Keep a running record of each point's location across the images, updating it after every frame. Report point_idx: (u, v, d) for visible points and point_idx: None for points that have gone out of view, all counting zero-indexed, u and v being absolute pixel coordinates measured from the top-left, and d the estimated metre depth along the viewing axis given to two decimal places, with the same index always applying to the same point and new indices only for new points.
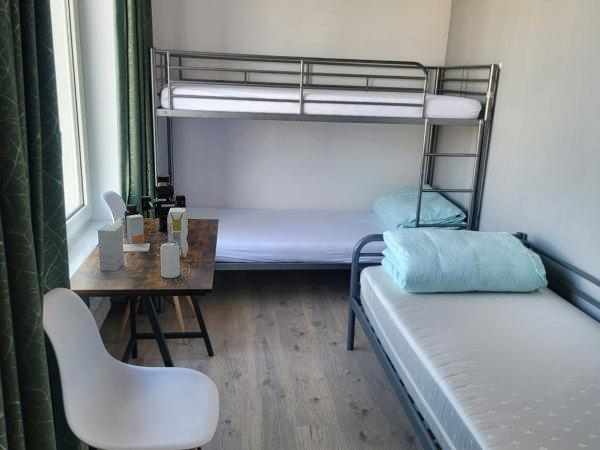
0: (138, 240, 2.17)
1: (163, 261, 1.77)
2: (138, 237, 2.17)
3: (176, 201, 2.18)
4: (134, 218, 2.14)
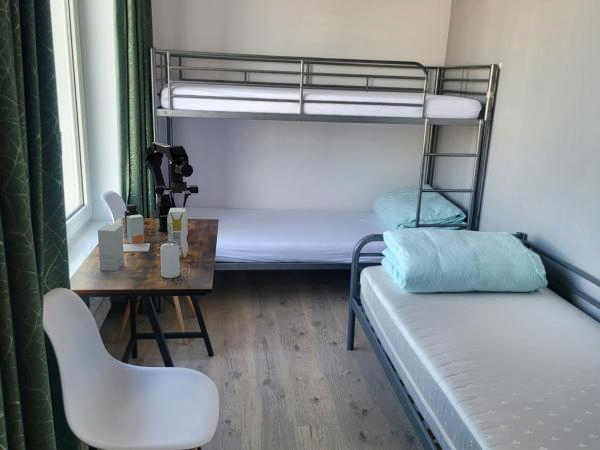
0: (138, 240, 2.17)
1: (163, 261, 1.77)
2: (138, 237, 2.17)
3: (185, 199, 2.26)
4: (134, 218, 2.14)
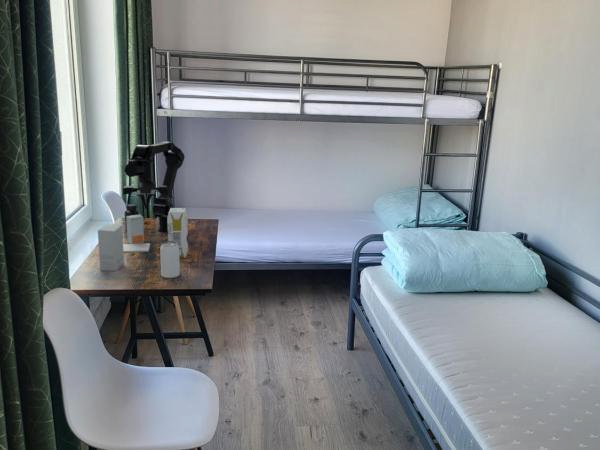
0: (138, 240, 2.17)
1: (163, 261, 1.77)
2: (138, 237, 2.17)
3: (148, 199, 2.22)
4: (134, 218, 2.14)
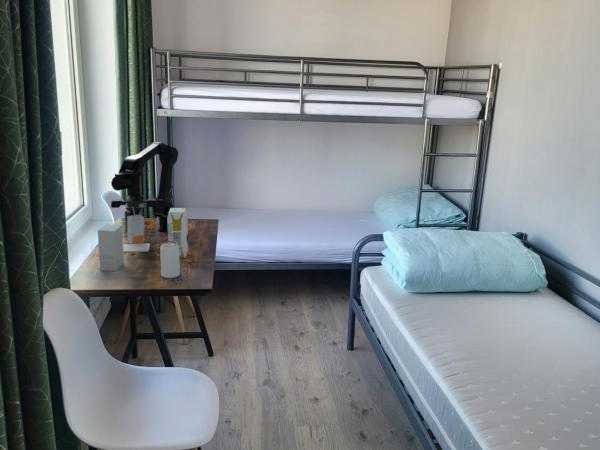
0: (138, 240, 2.17)
1: (163, 261, 1.77)
2: (138, 238, 2.16)
3: (137, 212, 2.18)
4: (135, 219, 2.13)
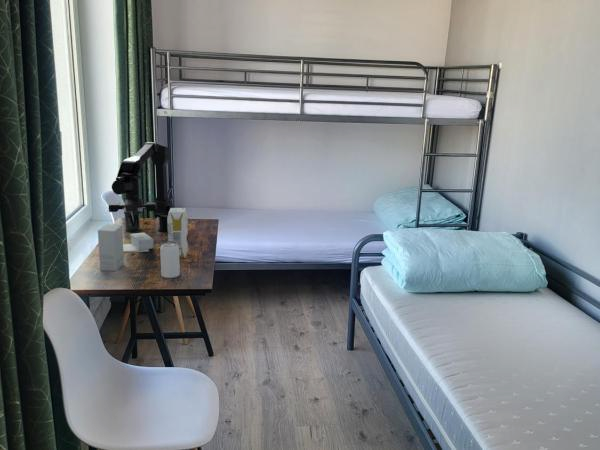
0: None
1: (163, 261, 1.77)
2: None
3: (135, 217, 2.11)
4: None
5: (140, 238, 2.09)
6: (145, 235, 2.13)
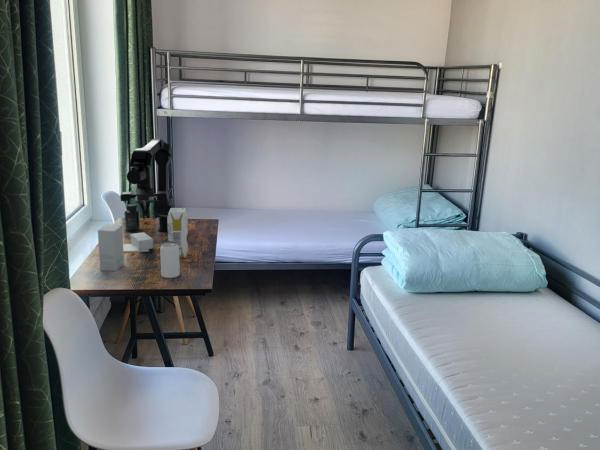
0: None
1: (163, 261, 1.77)
2: None
3: (147, 206, 2.12)
4: (143, 249, 2.08)
5: (140, 238, 2.08)
6: (145, 235, 2.13)
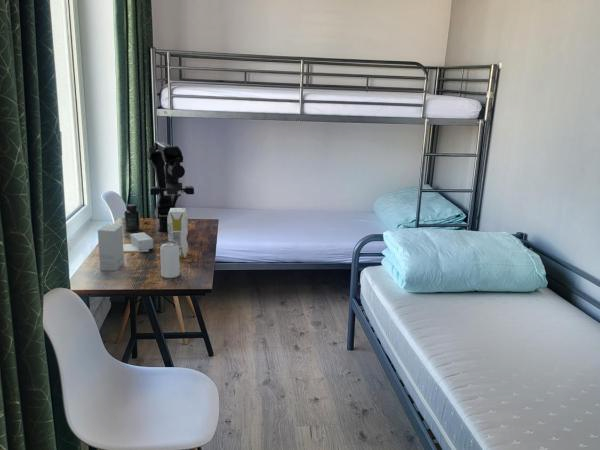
0: None
1: (163, 261, 1.77)
2: None
3: (175, 200, 2.23)
4: (143, 249, 2.08)
5: (140, 238, 2.08)
6: (145, 235, 2.13)
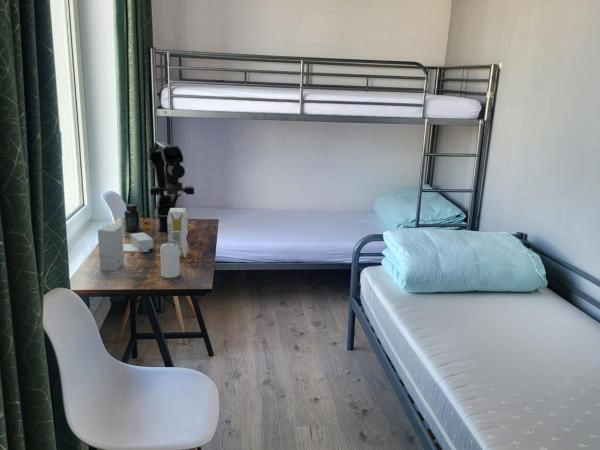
0: None
1: (163, 261, 1.77)
2: None
3: (175, 200, 2.23)
4: (143, 249, 2.08)
5: (140, 238, 2.08)
6: (145, 235, 2.13)
